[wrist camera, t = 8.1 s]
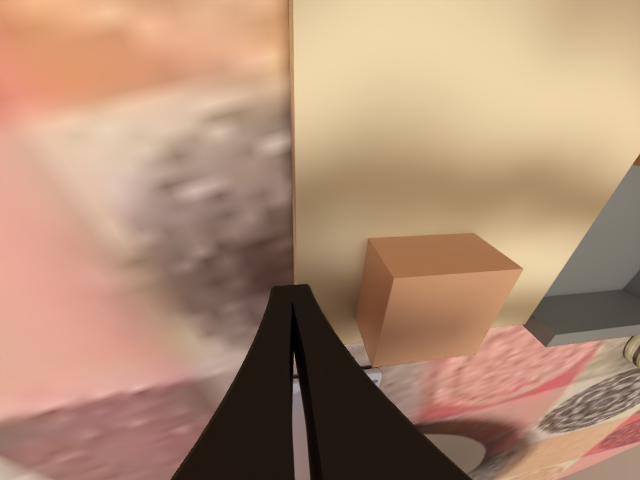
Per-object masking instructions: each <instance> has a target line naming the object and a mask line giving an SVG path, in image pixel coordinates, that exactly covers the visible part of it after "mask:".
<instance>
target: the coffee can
mask: <svg viewBox="0 0 640 480" xmlns="http://www.w3.org/2000/svg"><path fill="white" fill-rule="evenodd" d="M624 355H625V358H626V359H627V360H628V361H630V362H632V363H634V364H635V365H636V366H637V367H639V368H640V335H635V336H633V337H632V339H631V340H630V341H629V342H628V343H627V346H626V348H625V351H624Z"/></svg>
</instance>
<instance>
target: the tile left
mask: <svg viewBox="0 0 640 480" xmlns="http://www.w3.org/2000/svg"><path fill="white" fill-rule="evenodd" d="M522 271H523V268H522V267H521V266H519V265H518V264H516V263H515V262H514V261H512V260H511V259H510V258H508V257H507V256H505V255H504V254H503V253H501V252H500V251H498V250H497V249H496V248H494V247H493V246H491V245H490V244H489V243H487V242H486V241H485V240H483V239H482V238H480V237H479V236H478V235H476V234H475V233H463V234H442V235H421V236H400V237H379V238H368V244H367V251H366V257H365V263H364V270H363V276H362V282H361V288H360V295H359V301H358V307H357V313H356V323H357V326H358V329H359V331H360V334H361V337H362V340H363V343H364V346H365V349H366V351H367V354H368V357H369V360H370V363H371V366H372V368H375V367H382V366H390V365H398V364H405V363H413V362H421V361H428V360H436V359H444V358H452V357H459V356H467V355H475V353H476V351H477V350H478V348H479V346H480V344H481V343H482V341H483V339H484V337H485V336H486V334H487V332H488V330H489V329H490V327H491V325H492V323H493V322H494V320H495V318H496V316H497V315H498V313H499V311H500V309H501V308H502V306H503V304H504V303H505V301H506V299H507V297H508V296H509V294H510V292H511V290H512V289H513V287H514V285H515V283H516V282H517V280H518V278H519V276H520V275H521V273H522Z"/></svg>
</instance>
